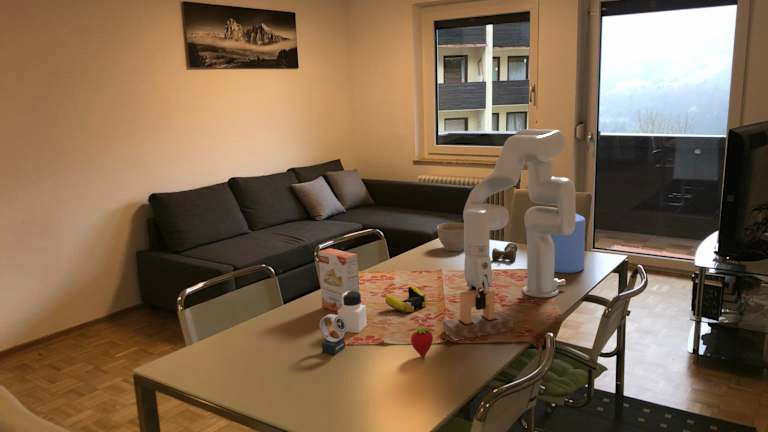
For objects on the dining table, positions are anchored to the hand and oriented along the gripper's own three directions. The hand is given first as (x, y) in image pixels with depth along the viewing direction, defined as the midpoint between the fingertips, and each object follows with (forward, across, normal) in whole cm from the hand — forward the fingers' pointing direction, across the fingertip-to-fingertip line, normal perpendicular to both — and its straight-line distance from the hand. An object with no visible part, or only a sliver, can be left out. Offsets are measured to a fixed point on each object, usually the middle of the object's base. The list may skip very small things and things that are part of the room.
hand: (477, 306), depth 191 cm
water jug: (+8, +43, -62) cm, 76 cm away
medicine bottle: (+8, +19, +35) cm, 41 cm away
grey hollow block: (+8, 0, 0) cm, 8 cm away
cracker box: (+8, +37, +34) cm, 51 cm away
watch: (+9, +5, +45) cm, 46 cm away
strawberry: (+8, -10, +23) cm, 26 cm away
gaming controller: (+8, +29, +12) cm, 33 cm away
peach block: (+4, 0, 0) cm, 4 cm away
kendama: (+8, +66, -49) cm, 82 cm away
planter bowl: (+8, +91, -36) cm, 98 cm away
